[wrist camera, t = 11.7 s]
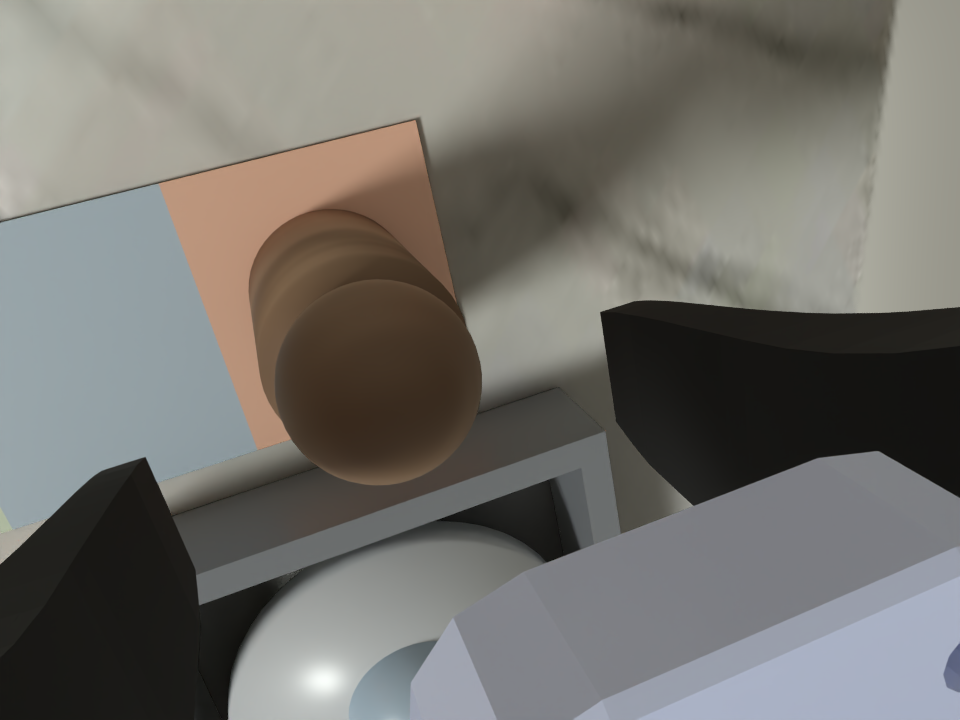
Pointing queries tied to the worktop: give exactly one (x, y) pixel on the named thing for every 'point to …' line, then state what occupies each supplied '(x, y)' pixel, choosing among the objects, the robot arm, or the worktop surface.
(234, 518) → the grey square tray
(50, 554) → the robot arm
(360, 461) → the walnut pawn
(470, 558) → the dome
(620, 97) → the worktop surface
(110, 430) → the strip
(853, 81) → the worktop surface
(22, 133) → the worktop surface
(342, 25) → the worktop surface
